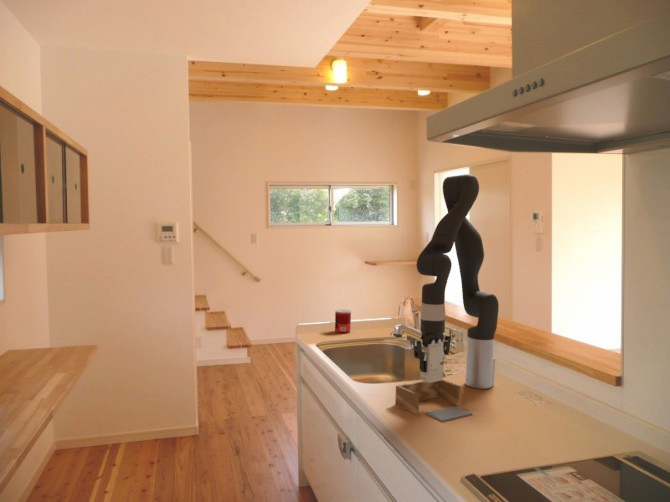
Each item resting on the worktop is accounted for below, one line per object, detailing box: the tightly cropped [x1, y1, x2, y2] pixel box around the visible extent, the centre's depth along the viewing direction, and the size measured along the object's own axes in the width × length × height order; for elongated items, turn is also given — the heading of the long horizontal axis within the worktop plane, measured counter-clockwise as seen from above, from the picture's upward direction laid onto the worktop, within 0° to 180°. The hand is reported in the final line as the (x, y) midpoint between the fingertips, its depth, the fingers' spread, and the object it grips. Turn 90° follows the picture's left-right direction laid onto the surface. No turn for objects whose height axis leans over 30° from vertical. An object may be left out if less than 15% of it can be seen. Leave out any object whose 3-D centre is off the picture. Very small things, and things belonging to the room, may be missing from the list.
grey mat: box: [425, 405, 473, 423], centre depth 161 cm, size 12×7×1 cm, turn 122°
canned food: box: [334, 309, 352, 335], centre depth 272 cm, size 8×8×11 cm
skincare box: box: [419, 342, 444, 383], centre depth 167 cm, size 6×4×12 cm
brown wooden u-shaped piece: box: [394, 379, 462, 416], centre depth 169 cm, size 18×10×6 cm, turn 122°
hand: (431, 370), depth 168 cm, fingers closed on skincare box, 6 cm apart
